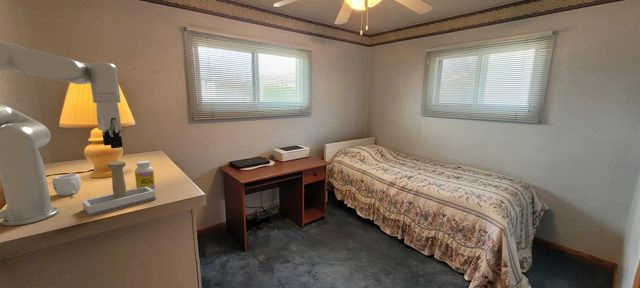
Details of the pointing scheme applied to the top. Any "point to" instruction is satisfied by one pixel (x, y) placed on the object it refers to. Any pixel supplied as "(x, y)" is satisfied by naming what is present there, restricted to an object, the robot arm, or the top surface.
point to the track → (117, 201)
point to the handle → (118, 178)
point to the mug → (67, 184)
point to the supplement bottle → (144, 175)
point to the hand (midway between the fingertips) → (113, 146)
